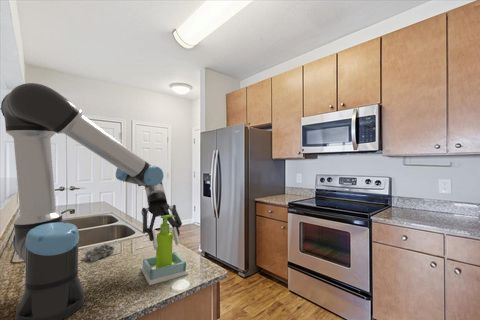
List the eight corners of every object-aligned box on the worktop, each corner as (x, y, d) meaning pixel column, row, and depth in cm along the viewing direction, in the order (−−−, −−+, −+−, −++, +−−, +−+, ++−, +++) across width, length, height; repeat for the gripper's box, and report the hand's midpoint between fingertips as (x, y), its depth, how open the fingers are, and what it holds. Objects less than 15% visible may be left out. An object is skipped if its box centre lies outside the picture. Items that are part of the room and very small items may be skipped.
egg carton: (92, 263, 95) (92, 253, 95) (81, 259, 99) (82, 250, 99) (116, 253, 105) (116, 244, 105) (105, 250, 108) (105, 242, 108)
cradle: (149, 285, 78) (149, 273, 78) (140, 269, 90) (141, 258, 90) (188, 274, 86) (188, 263, 86) (175, 260, 98) (175, 250, 98)
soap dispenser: (177, 267, 89) (178, 215, 90) (160, 272, 84) (161, 217, 85) (169, 263, 93) (170, 213, 94) (153, 268, 88) (154, 215, 89)
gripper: (177, 199, 107) (190, 245, 93) (129, 204, 95) (136, 256, 82) (181, 189, 102) (195, 236, 89) (131, 192, 91) (139, 246, 77)
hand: (167, 245), depth 85 cm, fingers open, 7 cm apart
